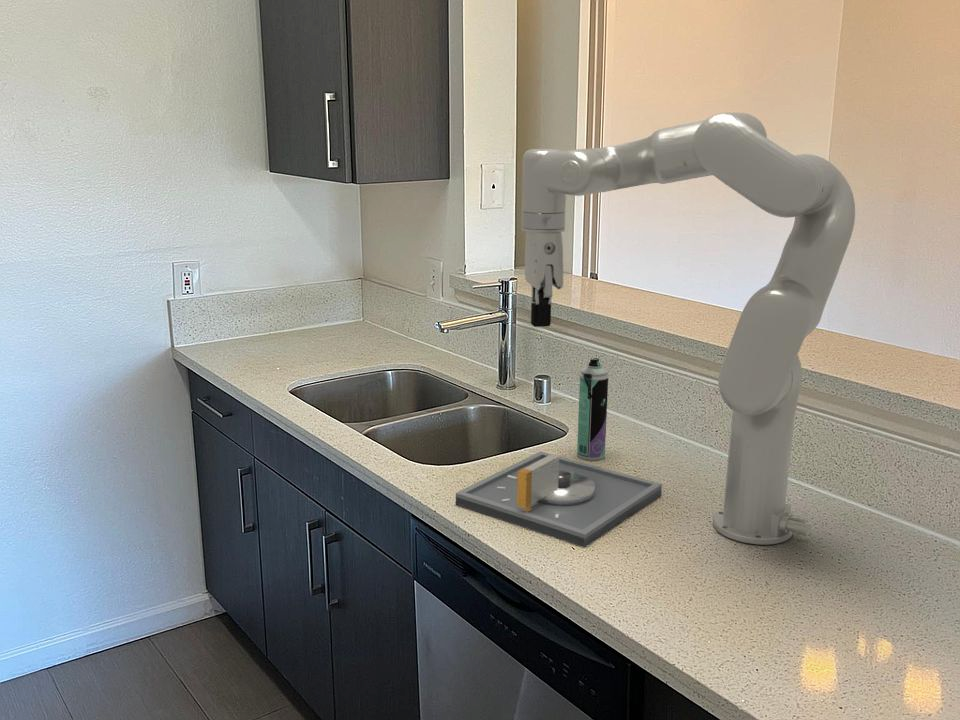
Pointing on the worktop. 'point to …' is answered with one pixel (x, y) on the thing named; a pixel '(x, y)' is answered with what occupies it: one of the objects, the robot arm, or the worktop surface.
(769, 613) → the worktop surface
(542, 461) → the dial
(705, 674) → the worktop surface
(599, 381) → the spray can
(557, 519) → the panel
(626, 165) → the robot arm
